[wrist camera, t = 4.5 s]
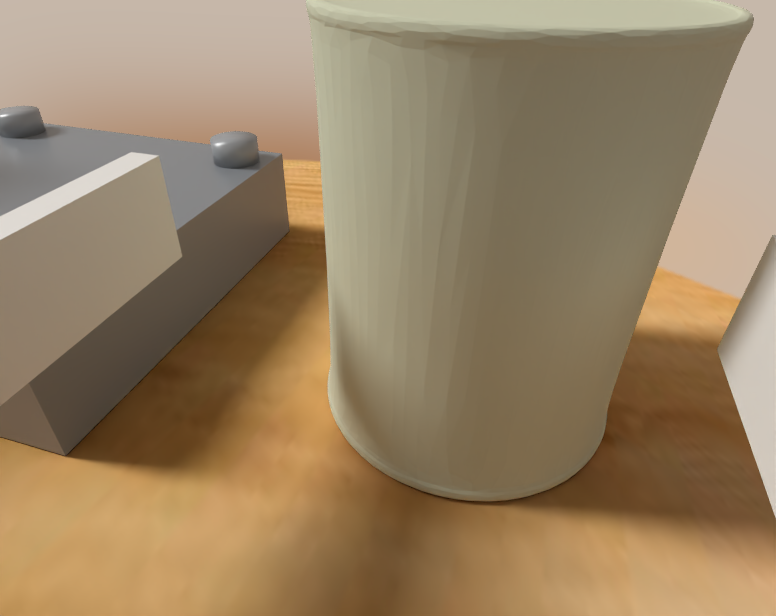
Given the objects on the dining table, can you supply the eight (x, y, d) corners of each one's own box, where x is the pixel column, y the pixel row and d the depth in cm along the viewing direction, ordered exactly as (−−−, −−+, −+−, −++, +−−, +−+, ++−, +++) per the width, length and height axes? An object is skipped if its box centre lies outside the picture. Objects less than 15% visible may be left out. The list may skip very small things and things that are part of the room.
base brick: (289, 230, 27) (279, 132, 24) (65, 456, 15) (-5, 316, 13) (49, 191, 31) (16, 101, 28) (-284, 352, 19) (-404, 223, 16)
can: (534, 298, 23) (607, -38, 16) (665, 477, 15) (911, -8, 8) (317, 319, 21) (291, -43, 14) (345, 528, 14) (321, -10, 7)
